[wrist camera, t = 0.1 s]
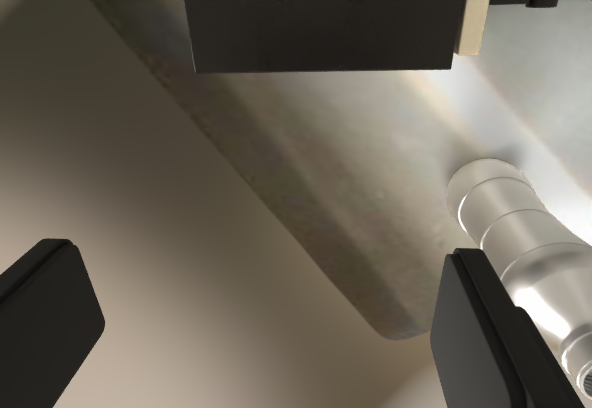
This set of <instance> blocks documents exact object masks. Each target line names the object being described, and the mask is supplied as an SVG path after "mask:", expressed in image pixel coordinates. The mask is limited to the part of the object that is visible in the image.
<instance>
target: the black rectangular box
mask: <svg viewBox="0 0 592 408" xmlns="http://www.w3.org/2000/svg"><path fill="white" fill-rule="evenodd" d="M184 2H185V9H186V15H187V22H188V28H189V35H190V42H191V48H192V55H193V62H194V68H195V73H196V74H205V73H267V72H328V71H390V70H450V69H451V66H452V59H453V53H454V46H455V40H456V34H457V27H458V21H459V14H460V8H461V2H462V0H184Z"/></svg>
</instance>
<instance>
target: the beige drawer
mask: <svg viewBox="0 0 592 408" xmlns="http://www.w3.org/2000/svg"><path fill="white" fill-rule="evenodd" d="M557 3H558V0H462V2H461V8H460V14H459V21H458V27H457V34H456V40H455V46H454V53H455V54H457V55H479V53H480V48H481V43H482V37H483V32H484V27H485V21H486V16H487V10H488V5H509V4H526V7H528V8H550V7H556V6H557Z"/></svg>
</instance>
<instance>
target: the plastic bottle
mask: <svg viewBox="0 0 592 408" xmlns="http://www.w3.org/2000/svg"><path fill="white" fill-rule="evenodd" d="M446 199H447V205H448V209H449V212H450V214H451V215H452V217H453V218H454V220H455V221H456V222H457V223H458V224H459V225H460V226H461V227H462V228H463V229H464V230H465V231H466V232H467V233H468V234H469V235H470V237H471V238H472V239H473V241H474V242H475V243H476V245H477V246H478V247H479V249H482V250H483V251H484V253H485V254H486V256H487V258H488V259H489V261H490V263H491V265H492V266H493V268H494V270H495V272H496V273H497V275H498V277H499V279H500V280H501V282H502V284H503V286H504V287H505V289H506V291H507V293H508V294H509V296H510V298H511V299H512V301H513V303H514V305H515V306H521V307H522V308H524V309H525V310H526V311H527V313H528V314H529V315H530V317H531V319H532V320H533V322H534V324H535V325H536V327H537V329H538V330H539V332H540V334H541V335H542V337H543V339H544V340H545V342H546V344H547V345H548V347H549V349H550V350H552V351H554V352H557V353H558V357H559V360H560V362H561V363H562V365H563V367H564V368H565V370H566V371H567V372H568V373H569V374H571V376H572V377H573V379H574V381H575V382H576V384H577V385H578V387H579V389H580V390H581V391H582V392H583V394H584V395H585V396H586V397H587V398H589V399H591V400H592V246H590V245H589V244H587V243H586V242H585V241H583V240H582V239H580V238H579V237H577V236H576V235H575V234H573V233H572V232H571V231H570V230H569V229H567V228H566V227H565V226H564V225H563V224H562V223H561V222H560V221H558V220H557V219H556V218H555V217H554V216H553V215H552V214H551V213H549V211H548V210H547V209H546V207H545V206H544V205H543V203H542V202H541V201H540V199H539V198H538V197H537V195H536V193H535V191H534V189H533V187H532V185H531V183H530V182H529V180H528V179H527V177H526V176H525V175H524V174H523V172H522V171H520V170H519V169H518V168H516V167H514V166H512V165H511V164H509V163H507V162H504V161H502V160H498V159H490V158H485V159H478V160H475V161H472V162H470V163H468V164H466V165H464V166H463V167H461V168H460V169H458V170H457V171H456V172H455V173H454V175H453V176H452V177H451V179H450V180H449V183H448V185H447V189H446Z"/></svg>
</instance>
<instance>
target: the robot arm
mask: <svg viewBox="0 0 592 408" xmlns="http://www.w3.org/2000/svg"><path fill="white" fill-rule="evenodd" d="M104 327H105V320H104V317H103V314H102V311H101V308H100V306H99V303H98V300H97V297H96V295H95V292H94V289H93V287H92V284H91V281H90V278H89V276H88V273H87V270H86V268H85V265H84V262H83V260H82V257H81V254H80V251H79V249H78V247H77V246H76V245H73V243H72V242H71V241H70V240H68V239H43V240H41V241H40V242H38V243H37V244H36V245H35V246H34V247H32V248H31V249H30V250H29V251H28V252H27V253H25V254H24V255H23V256H22V257H21V258H20V259H19V260H17V261H16V262H15V263H14V264H13V265H11V267H9V268H8V269H7V270H6V271H5V272H3V273H2V274H1V275H0V408H53V406H54V405H55V403H56V402H57V400H58V399H59V397H60V396H61V394H62V393H63V391H64V389H65V388H66V387H67V385H68V384H69V382H70V381H71V379H72V378H73V376H74V375H75V374H76V372H77V371H78V369H79V368H80V366H81V365H82V363H83V362H84V360H85V359H86V357H87V356H88V354H89V353H90V351H91V350H92V348H93V347H94V345H95V344H96V342H97V341H98V339H99V338H100V336H101V335H102V333H103V331H104ZM430 341H431V342H430V343H431V349H432V353H433V356H434V360H435V364H436V367H437V371H438V374H439V378H440V382H441V386H442V389H443V393H444V397H445V400H446V404H447V407H448V408H585V407H584V405H583V404H582V402H581V400H580V399H579V397H578V395H577V394H576V392H575V390H574V389H573V387H572V385H571V384H570V382H569V381H568V379H567V377H566V375H565V374H564V372H563V370H562V369H561V367H560V365H559V364H558V362H557V360H556V359H555V357H554V355H553V354H552V352H551V350H550V349H549V347H548V345H547V344H546V342H545V340H544V339H543V337H542V335H541V334H540V332H539V330H538V329H537V327H536V325H535V324H534V322H533V320H532V319H531V317H530V315H529V314H528V313H527V311H526V310H525V309H524V308H522V307H521V306H515V305H514V303H513V301H512V299H511V298H510V296H509V294H508V293H507V291H506V289H505V287H504V286H503V284H502V282H501V280H500V279H499V277H498V275H497V273H496V272H495V270H494V268H493V266H492V265H491V263H490V261H489V259H488V258H487V256H486V254H485V253H484V251H483V250H482V249H470V248H456V249H455V250H454V252H453V254H447V255H446V257H445V261H444V266H443V272H442V277H441V282H440V287H439V292H438V297H437V303H436V308H435V313H434V318H433V323H432V329H431V335H430Z"/></svg>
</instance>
